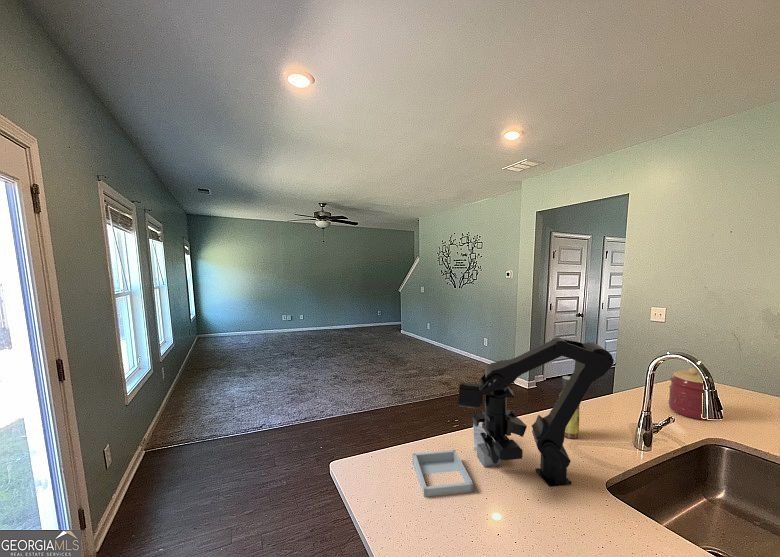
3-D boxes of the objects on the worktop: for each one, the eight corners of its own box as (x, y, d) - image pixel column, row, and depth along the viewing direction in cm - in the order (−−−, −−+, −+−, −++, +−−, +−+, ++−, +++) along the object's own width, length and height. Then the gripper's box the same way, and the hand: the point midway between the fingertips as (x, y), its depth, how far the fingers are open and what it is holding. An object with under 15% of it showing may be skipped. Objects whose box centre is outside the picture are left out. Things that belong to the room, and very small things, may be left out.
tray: (473, 497, 77) (473, 484, 77) (424, 502, 76) (424, 489, 76) (455, 460, 91) (455, 449, 91) (412, 464, 90) (412, 453, 90)
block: (500, 465, 88) (500, 452, 88) (484, 467, 87) (484, 454, 87) (492, 454, 93) (492, 442, 93) (476, 456, 92) (477, 443, 92)
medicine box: (487, 454, 94) (487, 427, 94) (472, 450, 97) (473, 423, 96) (492, 441, 101) (493, 416, 100) (479, 437, 103) (479, 412, 103)
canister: (680, 417, 115) (683, 372, 113) (661, 402, 127) (663, 361, 126) (724, 423, 111) (727, 376, 110) (699, 406, 123) (702, 364, 122)
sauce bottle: (582, 440, 101) (584, 382, 100) (561, 438, 102) (563, 381, 101) (574, 429, 107) (576, 375, 106) (555, 427, 108) (556, 374, 107)
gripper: (542, 425, 77) (541, 484, 78) (505, 393, 95) (505, 440, 96) (501, 429, 75) (500, 488, 76) (472, 395, 94) (471, 443, 95)
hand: (494, 462), depth 86 cm, fingers closed
